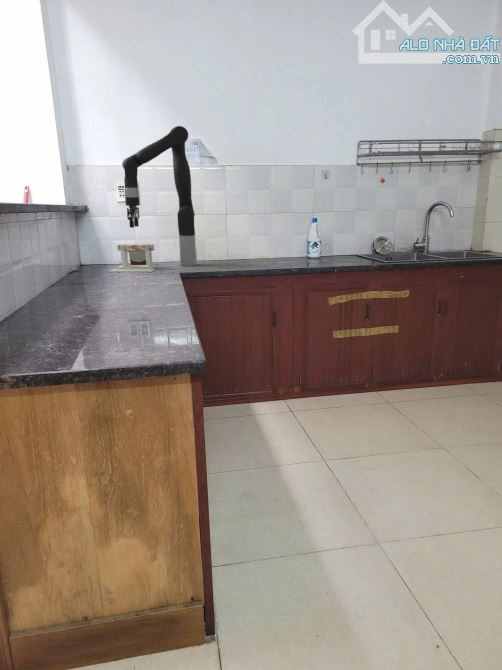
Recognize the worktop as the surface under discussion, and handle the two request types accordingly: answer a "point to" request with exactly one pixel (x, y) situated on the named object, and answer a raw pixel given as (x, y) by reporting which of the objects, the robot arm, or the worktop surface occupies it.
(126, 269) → the mat
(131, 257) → the food container
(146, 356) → the worktop surface
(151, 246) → the rail
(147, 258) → the rack
